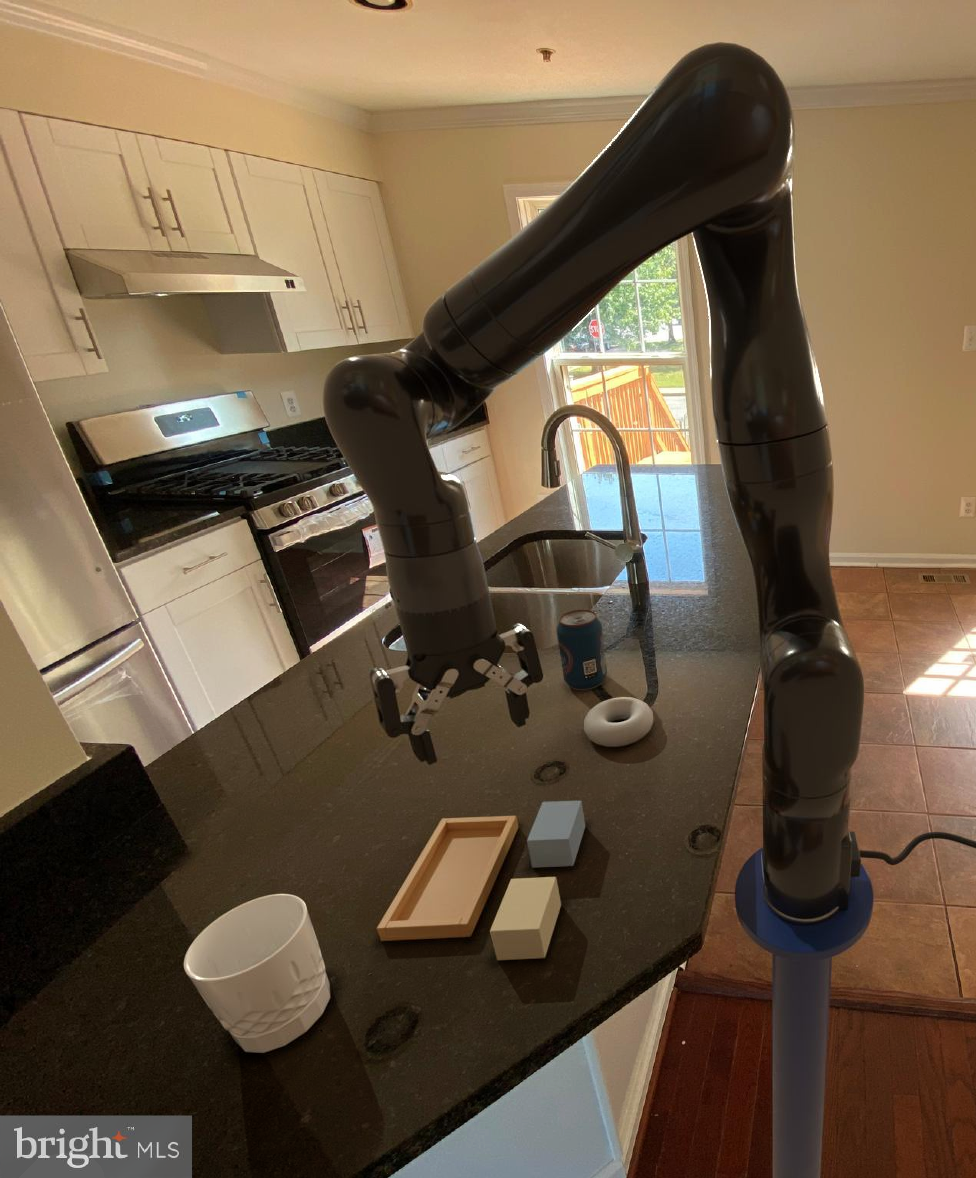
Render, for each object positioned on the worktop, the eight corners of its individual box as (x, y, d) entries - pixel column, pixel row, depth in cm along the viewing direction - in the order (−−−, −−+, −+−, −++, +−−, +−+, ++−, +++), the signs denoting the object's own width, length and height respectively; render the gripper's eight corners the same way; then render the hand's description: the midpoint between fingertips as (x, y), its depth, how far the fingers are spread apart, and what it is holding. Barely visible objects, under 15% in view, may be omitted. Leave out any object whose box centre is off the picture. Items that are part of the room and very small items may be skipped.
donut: (632, 704, 100) (572, 728, 94) (631, 685, 99) (570, 708, 92) (667, 733, 93) (605, 761, 87) (666, 713, 92) (602, 740, 86)
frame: (518, 826, 76) (516, 815, 75) (470, 936, 62) (467, 924, 62) (445, 829, 75) (441, 818, 75) (380, 941, 62) (376, 928, 61)
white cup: (275, 1074, 51) (233, 992, 47) (203, 1045, 53) (157, 965, 49) (360, 983, 58) (329, 905, 54) (293, 961, 60) (259, 884, 56)
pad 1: (561, 904, 66) (556, 876, 64) (545, 958, 60) (538, 929, 59) (517, 906, 66) (511, 878, 64) (496, 960, 60) (489, 931, 59)
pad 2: (585, 826, 76) (581, 800, 74) (573, 866, 70) (568, 838, 69) (547, 827, 76) (542, 801, 74) (532, 867, 70) (526, 840, 69)
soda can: (559, 677, 107) (549, 614, 102) (600, 666, 110) (592, 604, 105) (571, 697, 101) (561, 630, 97) (613, 684, 105) (606, 619, 100)
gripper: (361, 631, 49) (410, 794, 56) (537, 581, 58) (561, 727, 65) (338, 602, 54) (385, 755, 61) (504, 560, 63) (529, 697, 70)
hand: (476, 740), depth 63 cm, fingers open, 8 cm apart
